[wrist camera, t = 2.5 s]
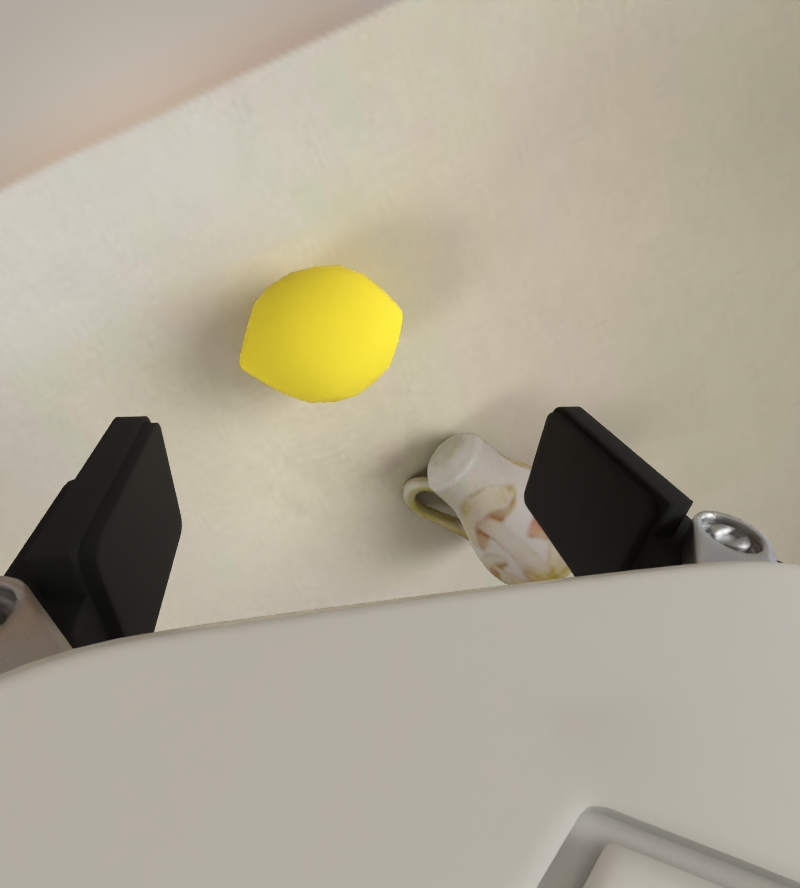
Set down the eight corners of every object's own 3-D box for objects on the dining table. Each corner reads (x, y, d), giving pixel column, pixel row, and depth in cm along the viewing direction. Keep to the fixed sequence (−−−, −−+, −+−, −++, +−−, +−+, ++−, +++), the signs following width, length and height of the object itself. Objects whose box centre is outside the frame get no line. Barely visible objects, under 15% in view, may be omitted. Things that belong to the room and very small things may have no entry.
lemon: (374, 235, 19) (404, 259, 15) (401, 349, 22) (432, 396, 18) (216, 281, 19) (198, 319, 14) (266, 390, 22) (264, 450, 17)
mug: (461, 382, 24) (626, 495, 19) (496, 440, 33) (617, 529, 28) (373, 485, 24) (514, 624, 19) (430, 517, 33) (540, 619, 28)
